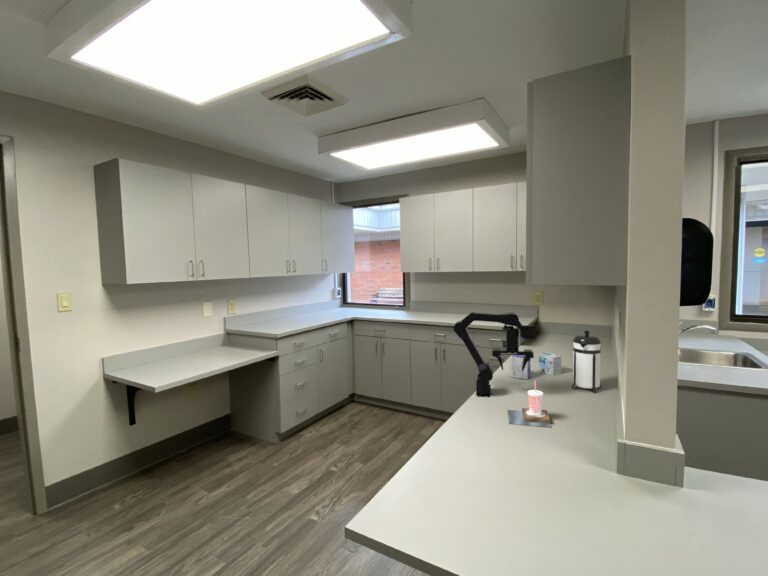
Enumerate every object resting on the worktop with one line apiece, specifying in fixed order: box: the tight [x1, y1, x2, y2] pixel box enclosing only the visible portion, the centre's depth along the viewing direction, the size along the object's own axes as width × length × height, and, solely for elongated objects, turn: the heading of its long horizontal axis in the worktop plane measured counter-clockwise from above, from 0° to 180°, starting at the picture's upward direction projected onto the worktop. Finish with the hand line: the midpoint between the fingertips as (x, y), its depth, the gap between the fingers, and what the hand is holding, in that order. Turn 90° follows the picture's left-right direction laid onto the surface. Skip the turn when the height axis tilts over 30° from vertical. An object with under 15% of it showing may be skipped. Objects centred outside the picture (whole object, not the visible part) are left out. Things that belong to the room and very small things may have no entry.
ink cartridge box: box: [510, 355, 531, 380], centre depth 210 cm, size 10×6×14 cm, turn 53°
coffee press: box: [571, 329, 602, 394], centre depth 191 cm, size 17×16×30 cm
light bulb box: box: [538, 351, 562, 377], centre depth 217 cm, size 11×7×11 cm, turn 25°
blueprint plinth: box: [507, 407, 552, 429], centre depth 157 cm, size 16×14×2 cm
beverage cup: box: [527, 380, 544, 415], centre depth 156 cm, size 6×6×14 cm
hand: (512, 370), depth 181 cm, fingers open, 9 cm apart
